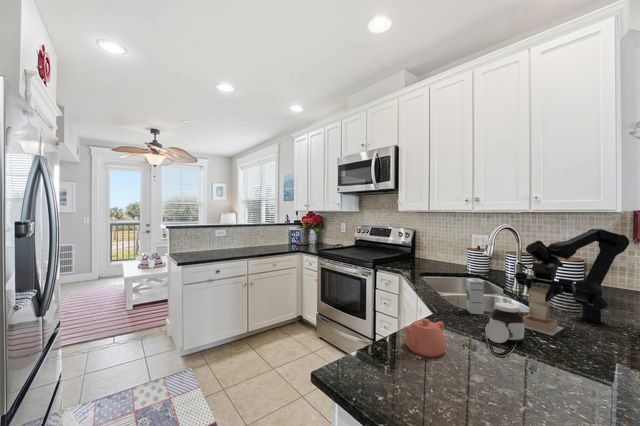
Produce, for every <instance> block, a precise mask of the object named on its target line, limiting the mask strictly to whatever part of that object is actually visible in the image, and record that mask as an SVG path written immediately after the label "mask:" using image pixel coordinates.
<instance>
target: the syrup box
mask: <svg viewBox="0 0 640 426" xmlns="http://www.w3.org/2000/svg"><path fill="white" fill-rule="evenodd" d="M465 281H466V282H465V289H466V291H465V295H466V296H465V297H466V298H465V299H466V301H465V303H466V304H465V307H466V308H465V309H466V311H467V312H468V313H469V314H471V315H484V313H485V312H484V310H485V309H484V306H485V305H484V281H482V280H481V279H479V278H466V279H465Z"/></svg>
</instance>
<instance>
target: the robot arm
mask: <svg viewBox="0 0 640 426" xmlns="http://www.w3.org/2000/svg"><path fill="white" fill-rule="evenodd" d="M595 242H597V243H598V244H597V246H598V249H599V252H598V254H597V256H596V258H595V260H594V262H593V263H592V266H591V268H590V270H589V271H588V273H587V276H586V277H585V278H584V279H583V281H579V280H577V281H576V282H574V281H573V280H572V279H567V278H561V277H559V279H558V280H556V279H555V278H557V271H558V269H559V268H560V267H561V268H562V267H564V264H563V262H562V261H561V260H560V259H566V260H567V259H570V258H571V257H573V256H574V255H575V254H576V253H577V251H578V250H580V249H582V248H584V247H586V246H588V245H590V244H592V243H595ZM629 245H630V239H629V237H627V235H625V234H618V233H615V232H612V231H608V230H605V229H603V228H591V229H588V230H587V231H584V232H583V233H581V234H579V235H577V236H575V237H572V238H570V239H568V240H564V241H557V242H553V243H550V244H548V246H546V244H544V242H543V241H541V240H535V242H532V243H530V244H528V245H526V247H525V251H526V253H527V254H529V255H530V256H531V258H533V259H534V260H535V261H537V262H533V263H532V266H531V272H533V276H534V277H533V276H532V275H529V274H528V273H526V272H523V271H522V272H521V271H516V272H515V274H514V278H515V280H516V283H517V284H518V285H521V286H525V287H526V288H527V294H528V295H529V288H532V287H535V285H534V284H539V285H544V286H549V288H548V289H549V291H548V293H547V296H546V299H545V301H546V302H548V301H549V302H550V300H552V299H554V298H555V297H557V296H558V295H560V294H562V295H563V294H565V293H566V294H571V295H572V296H573V298H574V300H575V301H574V302H575V303H576V304H580V315H576V318H578V319H581V320H582V321H584V322H585V323H593V324H594V323H596V324H606V322H605V321H603V320H602V312H601V311H602V310H607V307H608V303H607V302H606V301H605V299H604V298H602V296H603V290H602V287H601V286H602V284H603V282H604V280H605V277H606V276H607V274H608V272H609V270H610V268H611V266H612V264H613V263H614V261H615V258H616V257H617V256H619V255H620V254H622V253H623V252H625V251H626V249H627V248H628V246H629ZM539 262H540V263H539Z"/></svg>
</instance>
